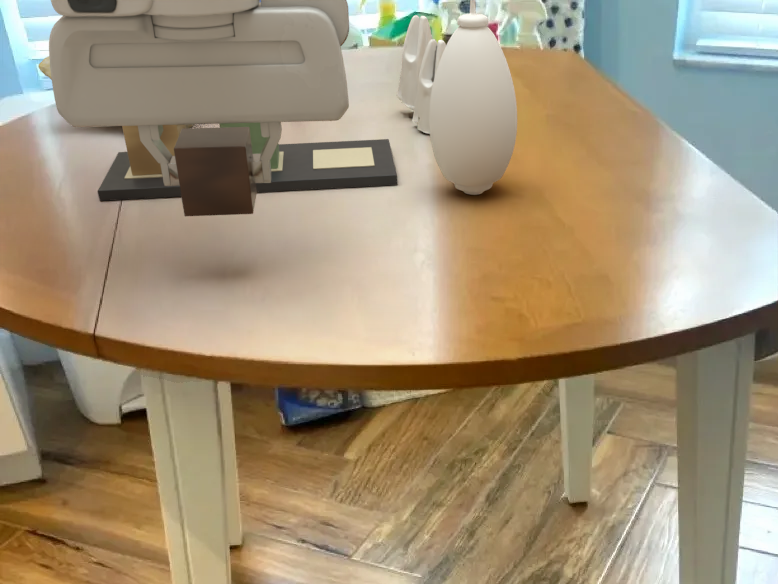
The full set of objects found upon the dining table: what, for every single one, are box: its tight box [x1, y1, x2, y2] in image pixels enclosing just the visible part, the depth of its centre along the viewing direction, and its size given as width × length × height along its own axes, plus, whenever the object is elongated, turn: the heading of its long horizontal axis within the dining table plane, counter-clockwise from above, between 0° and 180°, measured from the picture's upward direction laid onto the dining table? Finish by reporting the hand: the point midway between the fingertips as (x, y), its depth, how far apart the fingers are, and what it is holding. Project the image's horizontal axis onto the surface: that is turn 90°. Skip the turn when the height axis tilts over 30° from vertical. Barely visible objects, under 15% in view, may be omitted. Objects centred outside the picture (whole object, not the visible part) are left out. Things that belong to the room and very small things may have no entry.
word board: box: [97, 138, 398, 202], centre depth 96 cm, size 28×12×1 cm, turn 97°
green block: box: [218, 123, 280, 169], centre depth 94 cm, size 5×5×5 cm
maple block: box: [121, 124, 185, 175], centre depth 93 cm, size 5×5×5 cm
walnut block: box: [174, 127, 258, 217], centre depth 71 cm, size 5×5×5 cm
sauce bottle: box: [429, 0, 518, 196], centre depth 86 cm, size 8×8×18 cm
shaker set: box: [396, 14, 447, 135], centre depth 107 cm, size 12×4×11 cm, turn 18°
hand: (218, 182), depth 72 cm, fingers closed on walnut block, 5 cm apart
